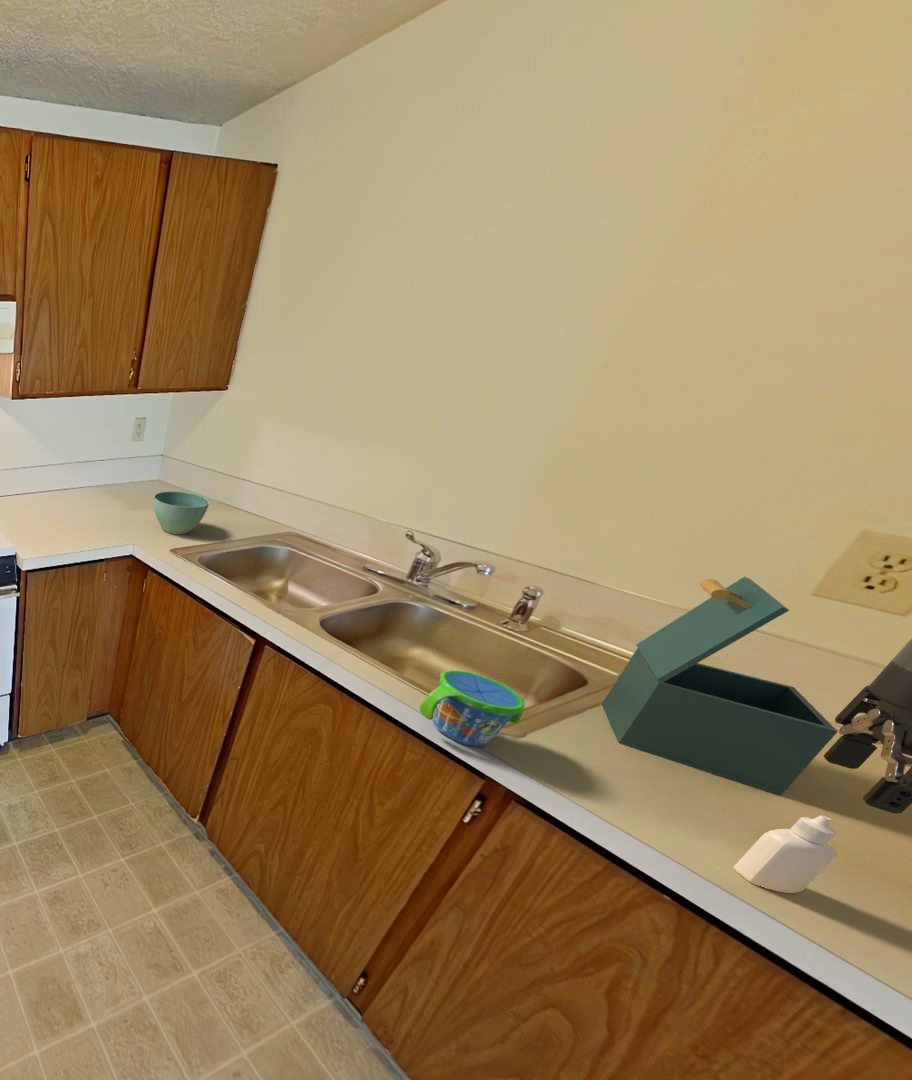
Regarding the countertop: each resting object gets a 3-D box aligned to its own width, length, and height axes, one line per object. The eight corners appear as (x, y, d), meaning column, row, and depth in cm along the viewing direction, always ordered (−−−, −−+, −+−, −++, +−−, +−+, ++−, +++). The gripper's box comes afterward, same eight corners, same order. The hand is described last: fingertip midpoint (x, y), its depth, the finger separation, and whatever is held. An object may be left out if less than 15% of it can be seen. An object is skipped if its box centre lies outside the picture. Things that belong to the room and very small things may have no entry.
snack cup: (483, 717, 96) (506, 673, 92) (533, 760, 86) (561, 713, 82) (393, 708, 98) (411, 665, 94) (431, 749, 88) (454, 703, 84)
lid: (751, 579, 84) (709, 561, 86) (789, 610, 74) (741, 589, 77) (641, 647, 94) (606, 630, 96) (663, 682, 84) (624, 662, 87)
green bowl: (184, 543, 173) (190, 510, 168) (138, 528, 187) (143, 496, 182) (212, 532, 183) (219, 500, 178) (167, 518, 197) (172, 488, 192)
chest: (745, 747, 89) (794, 687, 84) (780, 796, 80) (838, 731, 75) (601, 704, 99) (637, 648, 94) (618, 742, 90) (658, 682, 85)
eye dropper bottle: (723, 855, 71) (778, 793, 66) (794, 881, 67) (856, 818, 63) (737, 878, 68) (795, 816, 63) (811, 907, 64) (878, 843, 60)
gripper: (1096, 728, 47) (961, 845, 53) (984, 660, 57) (880, 766, 63) (941, 692, 52) (832, 804, 58) (861, 635, 62) (776, 736, 68)
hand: (857, 784), depth 61 cm, fingers open, 8 cm apart
